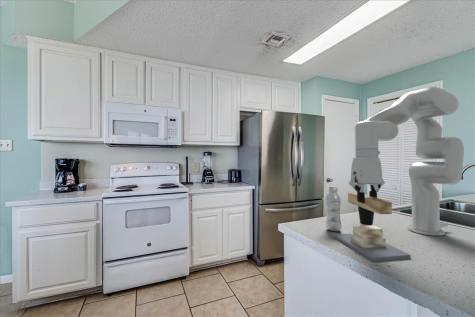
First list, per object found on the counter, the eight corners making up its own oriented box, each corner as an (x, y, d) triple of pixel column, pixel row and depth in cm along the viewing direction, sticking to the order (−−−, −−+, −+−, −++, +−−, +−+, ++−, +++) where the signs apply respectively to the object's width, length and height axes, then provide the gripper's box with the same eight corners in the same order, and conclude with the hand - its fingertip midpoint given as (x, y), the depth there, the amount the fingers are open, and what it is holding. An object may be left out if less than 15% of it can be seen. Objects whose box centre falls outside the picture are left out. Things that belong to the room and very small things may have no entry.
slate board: (363, 235, 95) (363, 232, 95) (410, 258, 73) (410, 254, 73) (333, 237, 93) (333, 234, 93) (372, 261, 71) (372, 257, 71)
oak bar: (357, 202, 93) (357, 192, 93) (391, 214, 73) (391, 202, 73) (348, 202, 93) (348, 192, 93) (380, 214, 73) (379, 202, 73)
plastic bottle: (343, 233, 97) (342, 188, 97) (327, 232, 99) (326, 188, 99) (339, 228, 104) (339, 186, 104) (324, 228, 105) (324, 186, 105)
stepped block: (371, 239, 87) (371, 224, 87) (385, 246, 80) (385, 229, 80) (350, 240, 86) (350, 225, 86) (363, 248, 79) (363, 231, 79)
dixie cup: (378, 228, 103) (378, 205, 103) (360, 228, 105) (360, 205, 105) (371, 223, 111) (371, 202, 111) (354, 223, 113) (354, 201, 113)
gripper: (378, 154, 88) (379, 199, 88) (340, 154, 85) (340, 201, 85) (394, 153, 80) (395, 203, 80) (352, 153, 78) (353, 205, 78)
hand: (367, 201), depth 83 cm, fingers closed on oak bar, 4 cm apart
